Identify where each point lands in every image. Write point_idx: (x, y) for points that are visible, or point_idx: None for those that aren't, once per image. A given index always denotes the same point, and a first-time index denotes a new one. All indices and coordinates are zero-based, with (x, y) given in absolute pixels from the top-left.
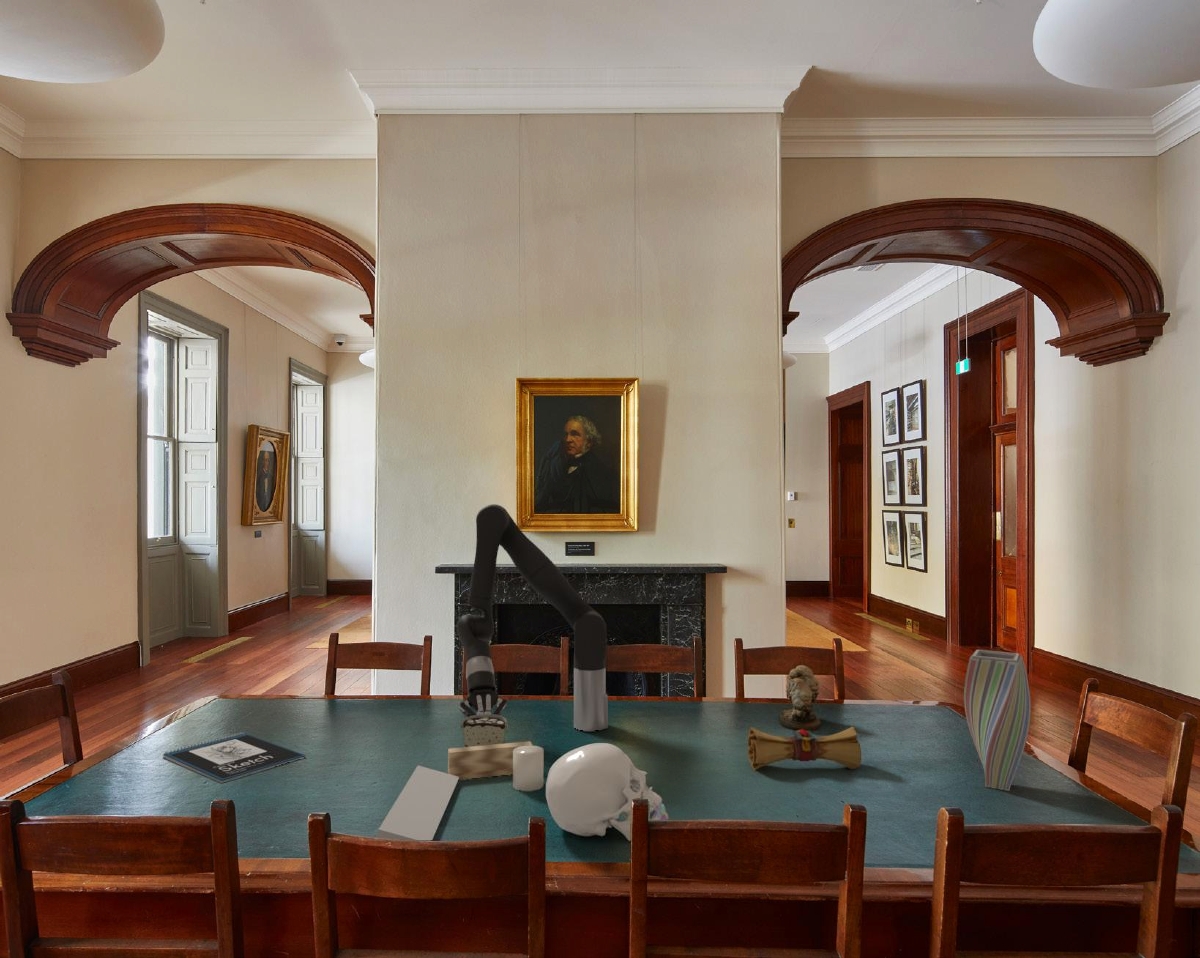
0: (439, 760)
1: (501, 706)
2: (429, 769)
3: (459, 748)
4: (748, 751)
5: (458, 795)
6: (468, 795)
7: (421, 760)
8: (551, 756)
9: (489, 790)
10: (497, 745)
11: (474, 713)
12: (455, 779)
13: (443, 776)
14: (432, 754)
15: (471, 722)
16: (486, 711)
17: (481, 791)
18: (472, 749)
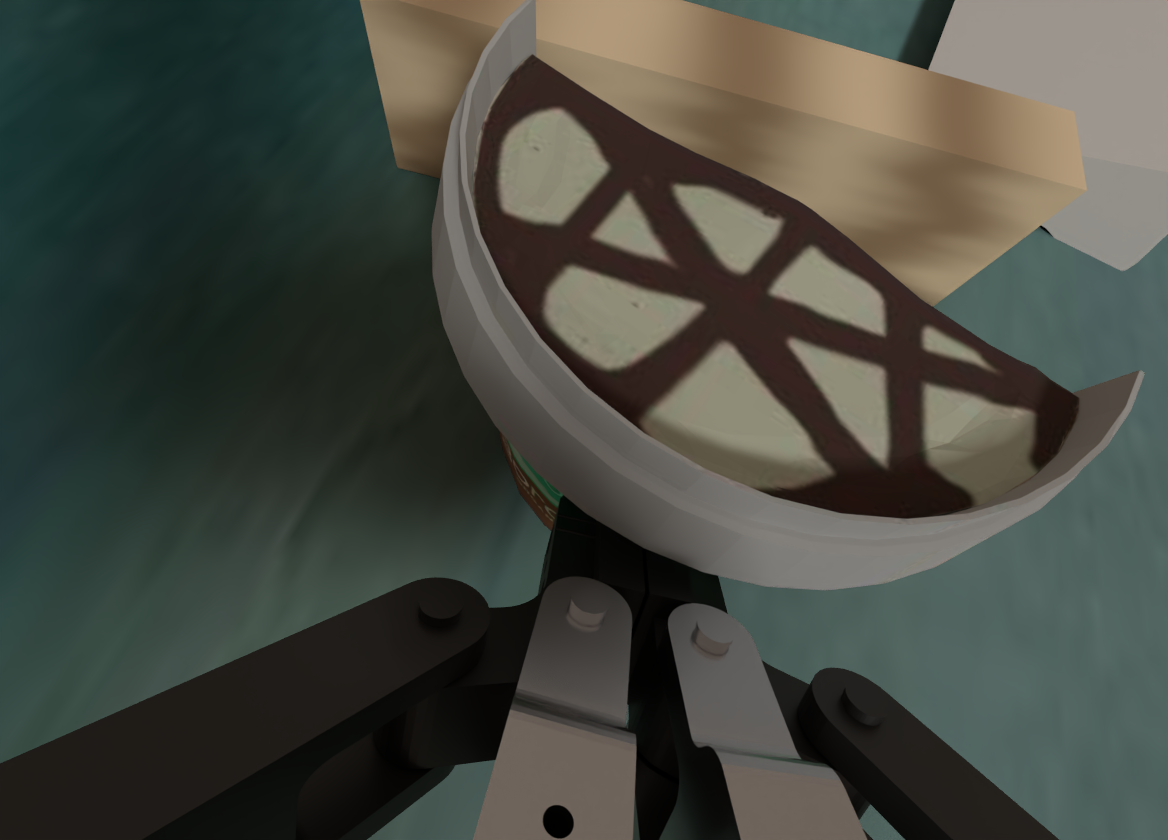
0: (973, 602)
1: (116, 761)
2: (1123, 154)
3: (996, 147)
4: None
5: (904, 47)
6: (860, 25)
7: (1110, 677)
8: (129, 241)
9: (755, 19)
10: (677, 49)
11: (895, 771)
12: None
13: None
14: (1027, 805)
15: (957, 376)
16: (619, 724)
17: (794, 29)
18: (896, 78)
